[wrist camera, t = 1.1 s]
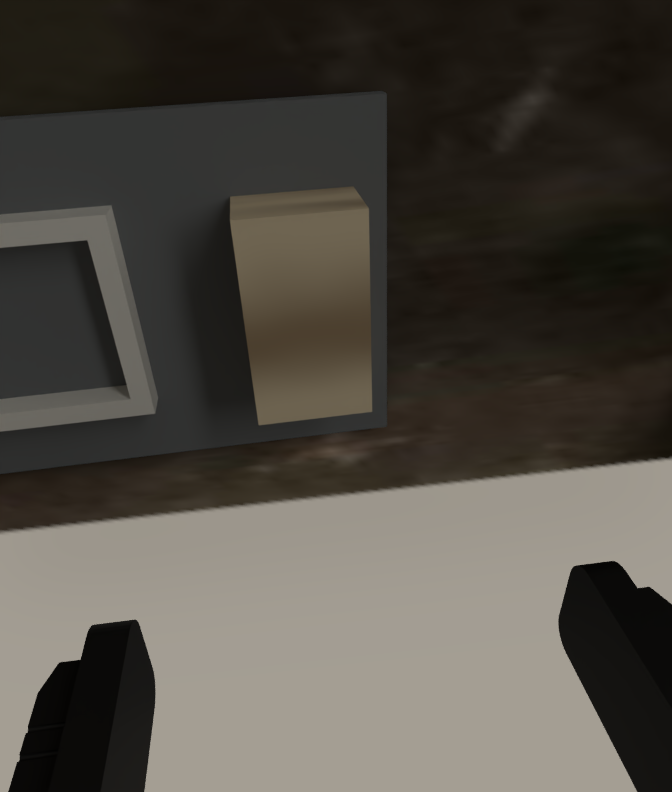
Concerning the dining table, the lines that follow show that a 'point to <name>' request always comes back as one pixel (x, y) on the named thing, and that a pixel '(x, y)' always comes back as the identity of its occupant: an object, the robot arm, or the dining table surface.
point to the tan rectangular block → (305, 301)
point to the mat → (170, 263)
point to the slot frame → (121, 313)
